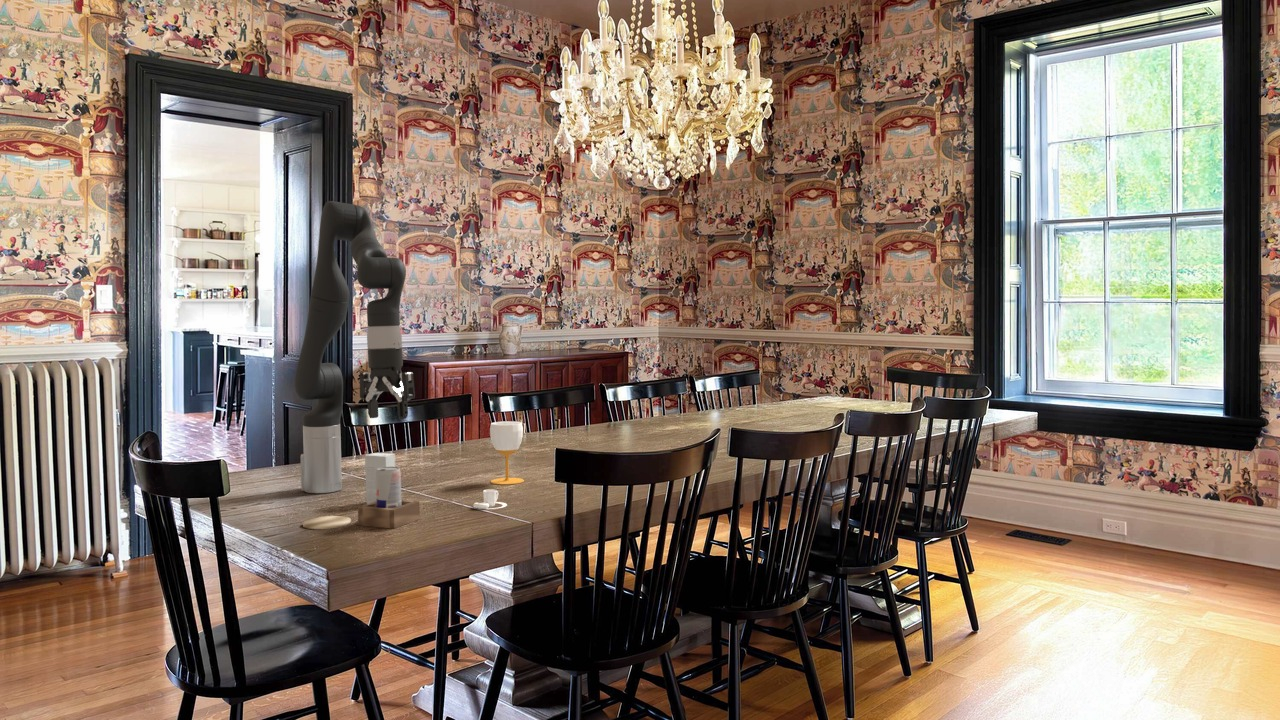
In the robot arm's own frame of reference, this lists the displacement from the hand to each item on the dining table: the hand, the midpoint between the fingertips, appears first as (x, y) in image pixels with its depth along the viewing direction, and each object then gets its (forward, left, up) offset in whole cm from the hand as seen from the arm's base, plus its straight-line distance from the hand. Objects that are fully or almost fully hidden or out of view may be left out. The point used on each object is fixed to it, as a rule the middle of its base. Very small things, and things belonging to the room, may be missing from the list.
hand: (388, 418), depth 205 cm
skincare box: (-12, +12, -23) cm, 28 cm away
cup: (+4, +46, -23) cm, 52 cm away
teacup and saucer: (+12, +17, -23) cm, 31 cm away
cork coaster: (-10, -10, -23) cm, 26 cm away
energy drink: (+2, -4, -23) cm, 23 cm away
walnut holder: (+2, -4, -23) cm, 23 cm away
